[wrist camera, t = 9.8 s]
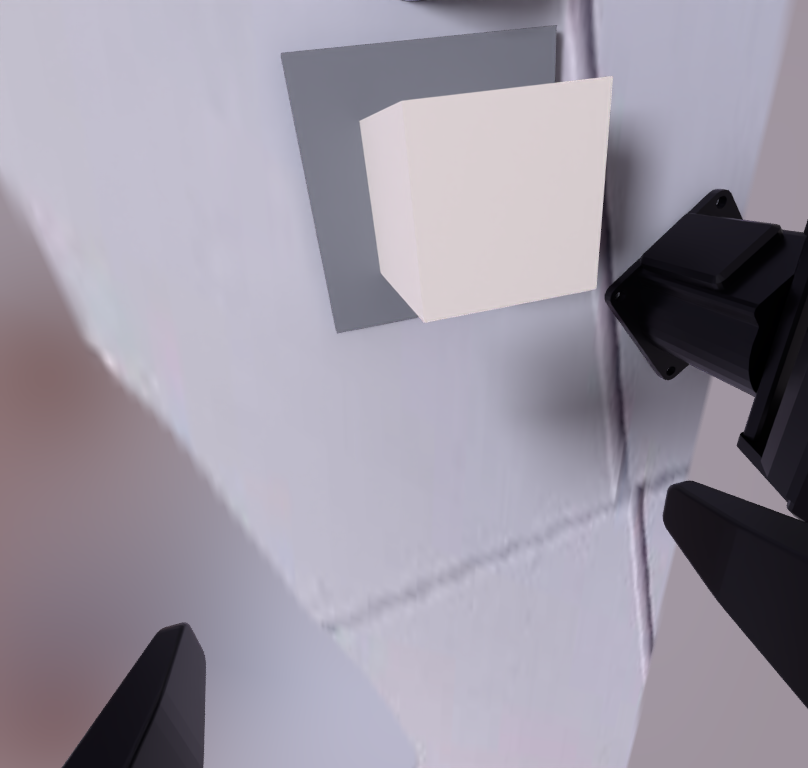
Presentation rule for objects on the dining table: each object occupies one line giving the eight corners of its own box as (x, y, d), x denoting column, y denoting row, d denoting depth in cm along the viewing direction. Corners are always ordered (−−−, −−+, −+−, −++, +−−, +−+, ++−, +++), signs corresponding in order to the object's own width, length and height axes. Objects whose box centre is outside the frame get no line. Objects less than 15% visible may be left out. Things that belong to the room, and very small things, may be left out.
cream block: (504, 251, 18) (596, 289, 13) (380, 273, 17) (424, 322, 12) (502, 103, 16) (613, 75, 11) (359, 120, 15) (401, 100, 10)
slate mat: (542, 287, 20) (549, 291, 19) (335, 328, 18) (337, 333, 18) (547, 29, 16) (556, 25, 15) (281, 57, 14) (281, 52, 14)
